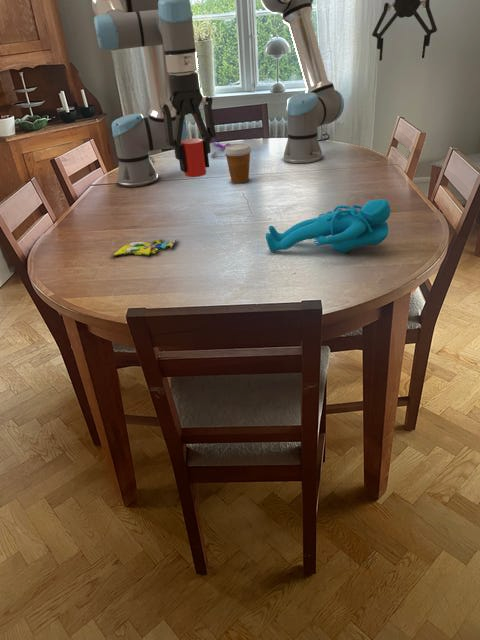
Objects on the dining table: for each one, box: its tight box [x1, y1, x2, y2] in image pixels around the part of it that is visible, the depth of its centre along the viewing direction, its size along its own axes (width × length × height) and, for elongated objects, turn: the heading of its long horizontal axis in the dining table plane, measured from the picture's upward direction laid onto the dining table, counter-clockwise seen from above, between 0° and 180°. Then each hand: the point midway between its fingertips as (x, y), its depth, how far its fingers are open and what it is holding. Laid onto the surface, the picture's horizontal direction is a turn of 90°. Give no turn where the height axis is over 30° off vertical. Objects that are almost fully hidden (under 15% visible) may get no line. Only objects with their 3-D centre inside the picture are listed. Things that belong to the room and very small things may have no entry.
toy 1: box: [112, 238, 177, 258], centre depth 129 cm, size 10×1×15 cm
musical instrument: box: [211, 141, 233, 158], centre depth 212 cm, size 24×2×20 cm
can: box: [181, 137, 207, 178], centre depth 128 cm, size 6×6×9 cm
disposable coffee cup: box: [223, 142, 252, 184], centre depth 171 cm, size 10×10×12 cm
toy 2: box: [265, 198, 392, 254], centre depth 118 cm, size 17×11×30 cm
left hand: (195, 168), depth 130 cm, fingers closed on can, 6 cm apart
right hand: (401, 59), depth 162 cm, fingers open, 13 cm apart
